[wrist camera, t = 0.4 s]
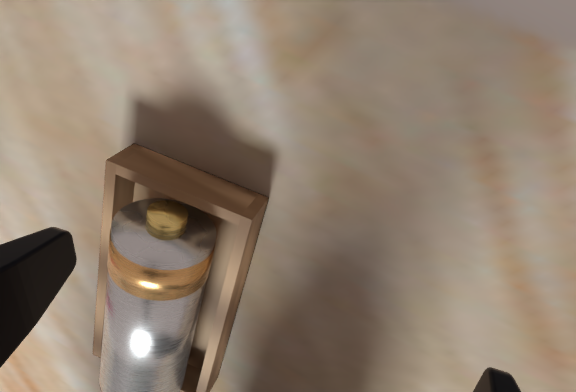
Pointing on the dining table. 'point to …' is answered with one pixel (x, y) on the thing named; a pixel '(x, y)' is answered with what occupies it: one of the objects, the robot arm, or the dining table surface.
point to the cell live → (153, 294)
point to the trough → (226, 258)
